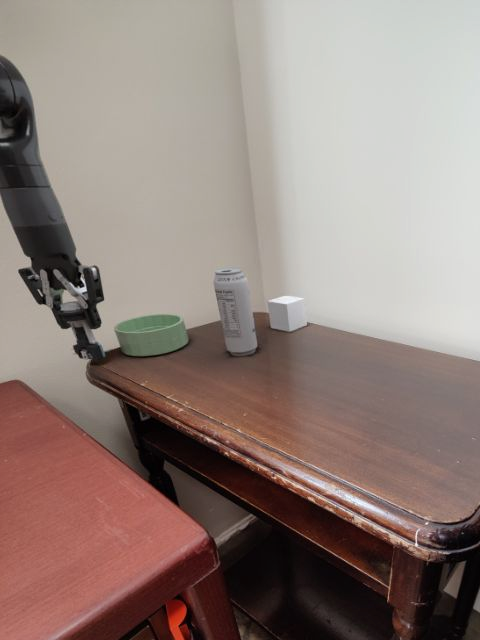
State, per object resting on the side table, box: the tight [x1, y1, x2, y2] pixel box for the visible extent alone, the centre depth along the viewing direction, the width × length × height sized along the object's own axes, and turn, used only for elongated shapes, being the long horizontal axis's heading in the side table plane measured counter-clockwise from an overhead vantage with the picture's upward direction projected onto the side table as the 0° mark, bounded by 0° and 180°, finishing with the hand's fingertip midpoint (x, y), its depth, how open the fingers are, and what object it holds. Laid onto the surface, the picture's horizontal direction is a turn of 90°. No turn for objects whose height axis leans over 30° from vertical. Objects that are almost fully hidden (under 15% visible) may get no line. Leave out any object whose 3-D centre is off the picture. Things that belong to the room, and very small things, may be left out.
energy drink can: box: [212, 267, 258, 357], centre depth 74 cm, size 6×6×15 cm
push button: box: [57, 300, 106, 362], centre depth 73 cm, size 7×5×10 cm
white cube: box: [267, 295, 308, 333], centre depth 90 cm, size 6×6×6 cm
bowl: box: [113, 313, 190, 357], centre depth 82 cm, size 13×13×5 cm
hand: (81, 327), depth 72 cm, fingers closed on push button, 5 cm apart
